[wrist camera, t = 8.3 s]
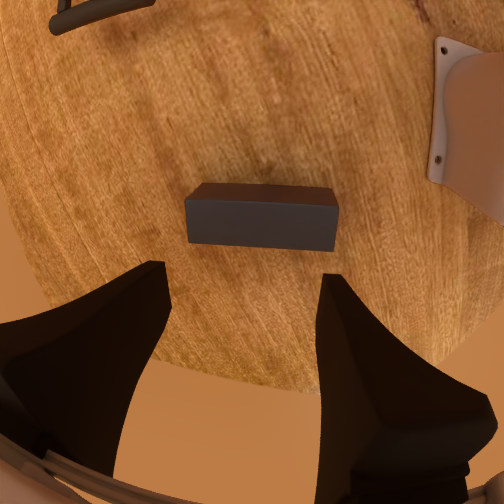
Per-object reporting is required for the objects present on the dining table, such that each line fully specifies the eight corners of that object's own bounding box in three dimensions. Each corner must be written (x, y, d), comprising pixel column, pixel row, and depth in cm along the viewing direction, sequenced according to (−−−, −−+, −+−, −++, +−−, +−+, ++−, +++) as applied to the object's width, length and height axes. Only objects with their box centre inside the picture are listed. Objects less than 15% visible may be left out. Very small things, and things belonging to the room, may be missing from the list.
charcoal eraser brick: (328, 227, 19) (333, 252, 16) (203, 221, 20) (187, 243, 17) (332, 188, 18) (339, 206, 15) (201, 182, 19) (183, 199, 16)
